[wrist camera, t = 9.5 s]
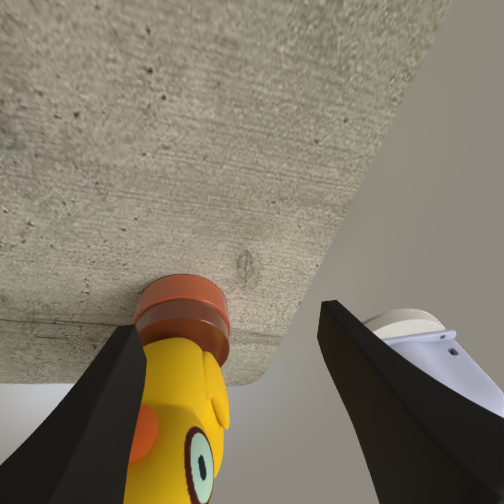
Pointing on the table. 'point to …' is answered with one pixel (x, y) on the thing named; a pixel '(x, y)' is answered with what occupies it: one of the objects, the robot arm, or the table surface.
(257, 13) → the table surface
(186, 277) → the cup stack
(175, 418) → the duckling
